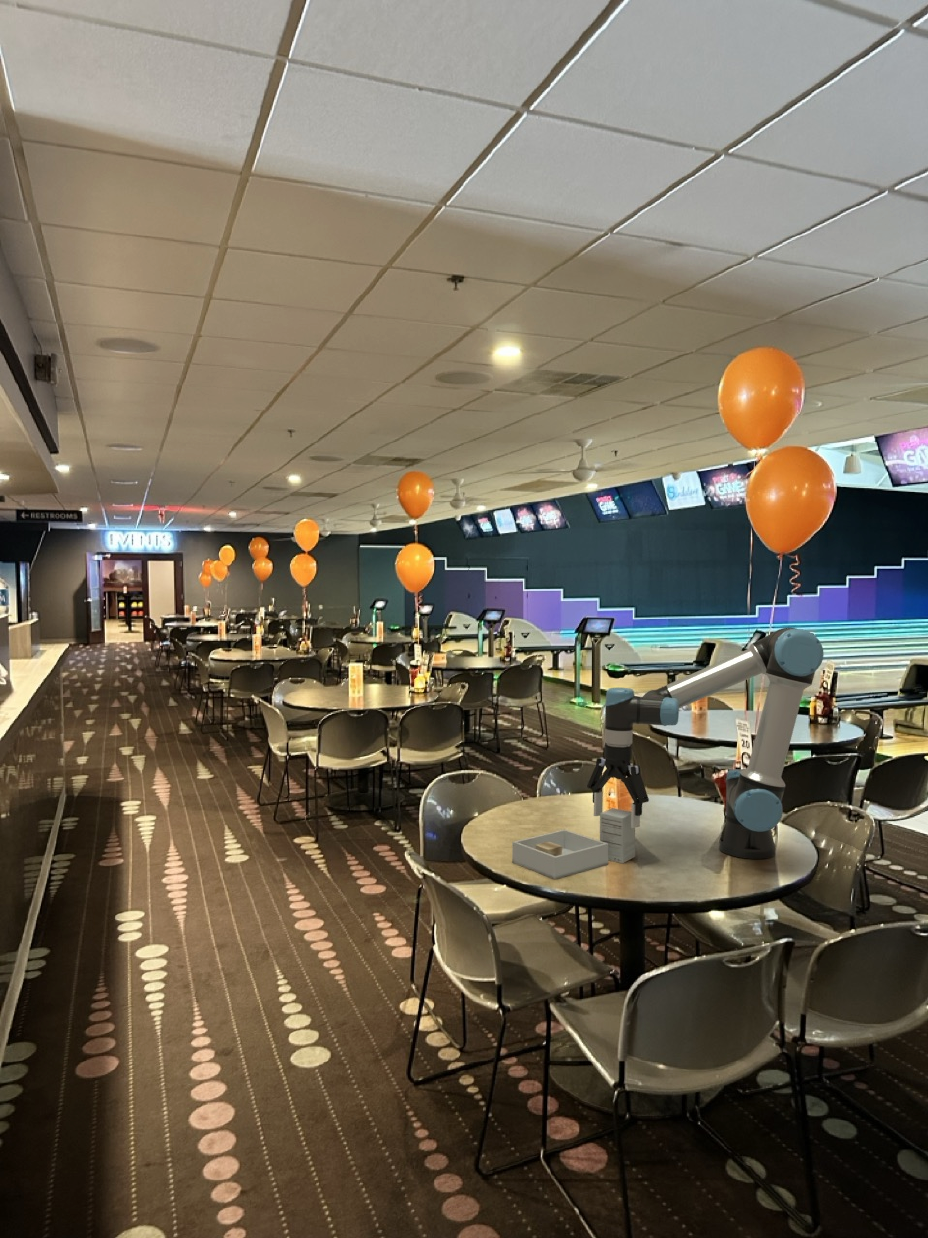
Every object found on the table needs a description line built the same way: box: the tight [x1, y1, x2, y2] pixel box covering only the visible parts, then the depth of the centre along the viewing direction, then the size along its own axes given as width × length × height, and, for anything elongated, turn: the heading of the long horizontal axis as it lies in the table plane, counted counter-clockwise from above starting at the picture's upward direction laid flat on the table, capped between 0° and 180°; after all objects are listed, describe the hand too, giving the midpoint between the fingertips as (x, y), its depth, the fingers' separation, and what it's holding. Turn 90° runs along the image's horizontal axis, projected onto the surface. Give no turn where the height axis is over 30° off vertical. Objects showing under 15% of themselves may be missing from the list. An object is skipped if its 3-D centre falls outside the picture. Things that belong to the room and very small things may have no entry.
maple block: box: [535, 842, 562, 856], centre depth 221 cm, size 5×5×5 cm
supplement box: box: [599, 807, 636, 864], centre depth 228 cm, size 7×7×13 cm
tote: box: [511, 829, 609, 880], centre depth 223 cm, size 17×20×6 cm
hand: (616, 821), depth 228 cm, fingers open, 13 cm apart
